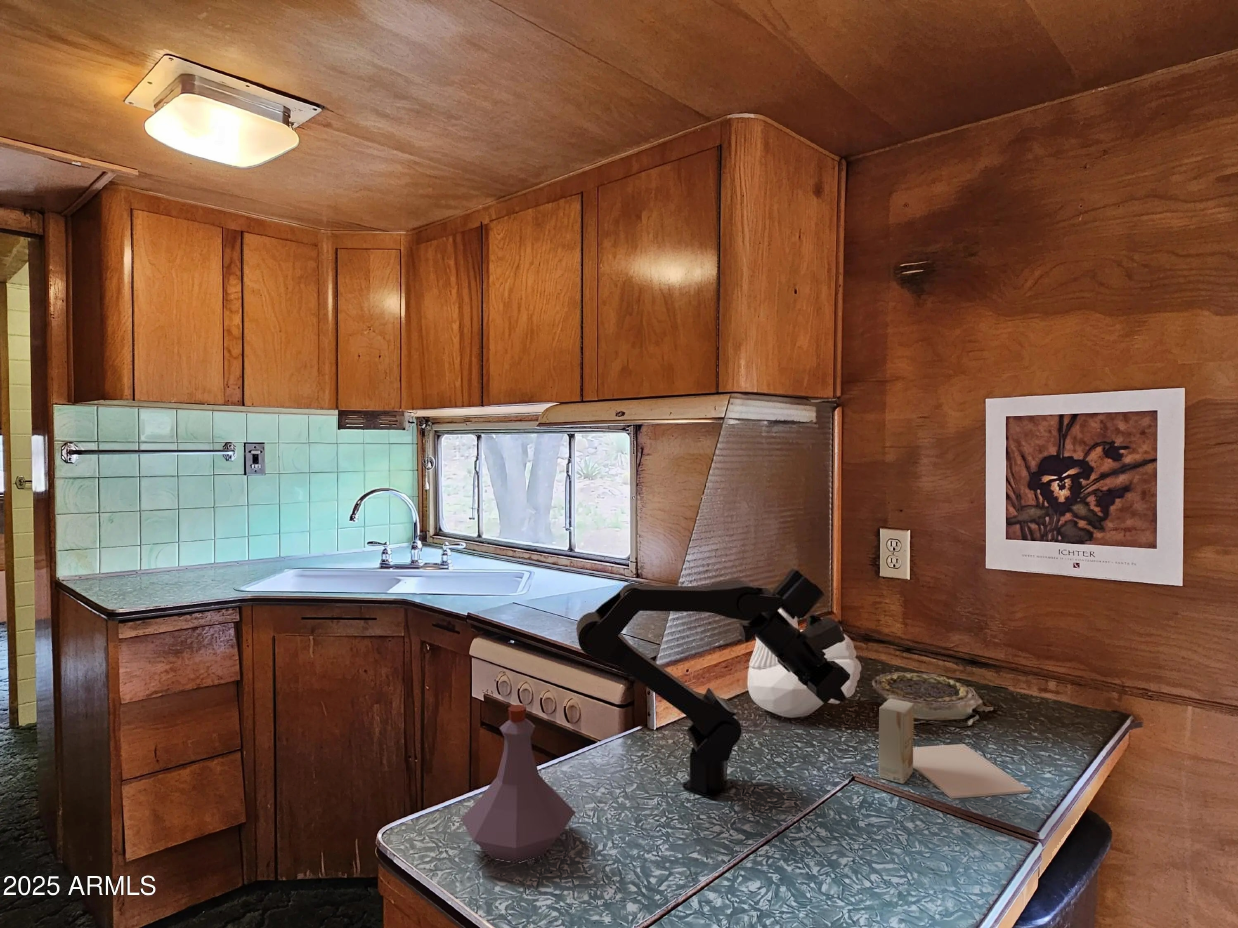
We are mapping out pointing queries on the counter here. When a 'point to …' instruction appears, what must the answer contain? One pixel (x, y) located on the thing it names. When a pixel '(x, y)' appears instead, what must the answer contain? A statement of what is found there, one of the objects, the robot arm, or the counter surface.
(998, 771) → the cutting board
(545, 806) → the flask
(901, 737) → the skincare box
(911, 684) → the pie
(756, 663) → the decorative rooster
